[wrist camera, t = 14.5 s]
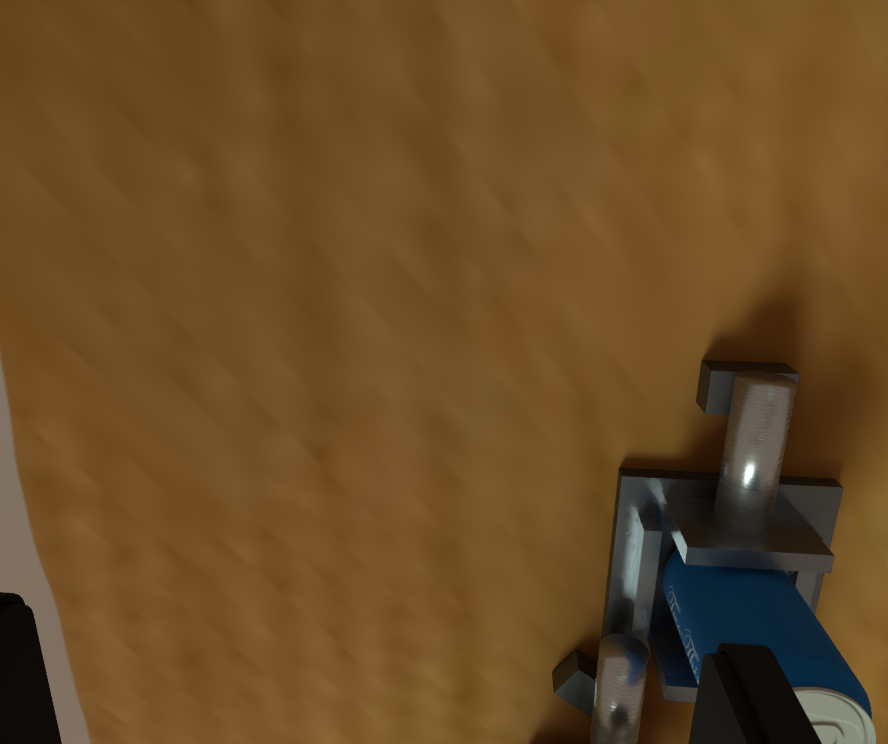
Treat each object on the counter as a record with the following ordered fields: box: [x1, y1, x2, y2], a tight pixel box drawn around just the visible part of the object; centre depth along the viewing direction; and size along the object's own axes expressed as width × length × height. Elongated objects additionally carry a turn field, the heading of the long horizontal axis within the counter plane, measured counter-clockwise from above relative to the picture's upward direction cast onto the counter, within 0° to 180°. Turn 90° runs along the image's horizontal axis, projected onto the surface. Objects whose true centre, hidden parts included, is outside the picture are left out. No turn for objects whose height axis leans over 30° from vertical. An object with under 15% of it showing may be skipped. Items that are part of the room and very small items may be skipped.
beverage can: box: [663, 549, 876, 744], centre depth 33 cm, size 6×6×12 cm
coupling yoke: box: [552, 361, 843, 744], centre depth 37 cm, size 24×15×6 cm, turn 179°
